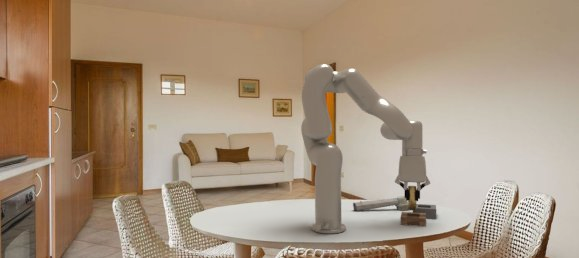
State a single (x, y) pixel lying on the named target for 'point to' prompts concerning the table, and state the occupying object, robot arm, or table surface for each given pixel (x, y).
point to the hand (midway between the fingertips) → (412, 199)
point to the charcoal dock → (426, 210)
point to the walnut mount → (413, 219)
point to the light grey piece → (382, 204)
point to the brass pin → (411, 197)
